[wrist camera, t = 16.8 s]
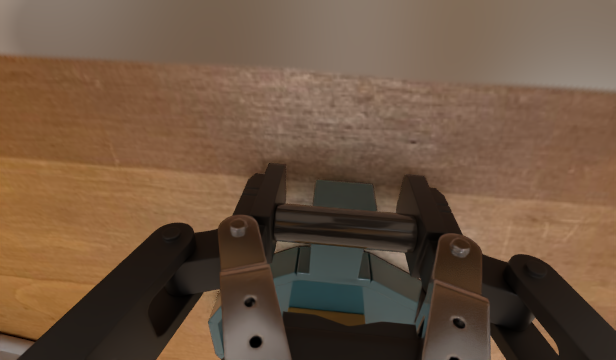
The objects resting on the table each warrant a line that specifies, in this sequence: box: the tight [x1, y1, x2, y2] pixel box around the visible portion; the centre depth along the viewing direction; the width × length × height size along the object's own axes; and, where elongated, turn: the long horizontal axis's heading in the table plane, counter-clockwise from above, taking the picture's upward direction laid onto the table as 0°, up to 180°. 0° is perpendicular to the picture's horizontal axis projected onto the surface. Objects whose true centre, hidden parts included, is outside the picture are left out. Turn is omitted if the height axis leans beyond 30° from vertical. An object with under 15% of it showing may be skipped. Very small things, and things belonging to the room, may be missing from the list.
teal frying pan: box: [208, 180, 422, 359], centre depth 17 cm, size 19×14×4 cm
